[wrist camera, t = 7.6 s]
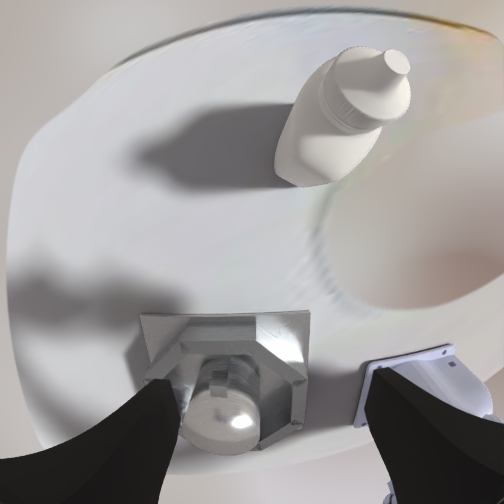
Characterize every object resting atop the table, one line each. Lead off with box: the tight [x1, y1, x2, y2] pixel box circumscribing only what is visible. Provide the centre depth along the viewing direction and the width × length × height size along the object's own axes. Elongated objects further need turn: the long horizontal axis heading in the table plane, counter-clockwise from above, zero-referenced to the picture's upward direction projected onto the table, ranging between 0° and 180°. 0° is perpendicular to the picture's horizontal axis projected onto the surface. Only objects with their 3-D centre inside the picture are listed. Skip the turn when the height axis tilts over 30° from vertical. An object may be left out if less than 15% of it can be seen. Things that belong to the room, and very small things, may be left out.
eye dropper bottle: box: [274, 46, 411, 187], centre depth 10 cm, size 4×6×12 cm
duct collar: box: [140, 310, 310, 451], centre depth 18 cm, size 12×12×3 cm
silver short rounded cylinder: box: [182, 358, 260, 455], centre depth 16 cm, size 6×5×6 cm
